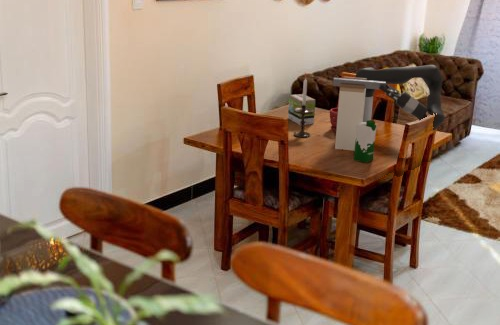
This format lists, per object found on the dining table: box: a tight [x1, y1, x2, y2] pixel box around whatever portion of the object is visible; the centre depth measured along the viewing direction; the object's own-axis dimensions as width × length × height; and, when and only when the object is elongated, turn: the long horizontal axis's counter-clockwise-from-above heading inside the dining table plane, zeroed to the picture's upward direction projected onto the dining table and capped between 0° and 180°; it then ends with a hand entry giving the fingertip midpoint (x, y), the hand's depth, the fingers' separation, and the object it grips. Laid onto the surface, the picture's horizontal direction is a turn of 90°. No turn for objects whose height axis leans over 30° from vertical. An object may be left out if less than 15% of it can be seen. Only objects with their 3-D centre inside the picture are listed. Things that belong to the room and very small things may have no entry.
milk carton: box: [353, 119, 378, 164], centre depth 332 cm, size 9×9×20 cm
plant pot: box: [329, 107, 338, 132], centre depth 383 cm, size 13×13×12 cm
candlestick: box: [293, 72, 314, 139], centre depth 366 cm, size 11×11×35 cm
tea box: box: [287, 93, 316, 126], centre depth 398 cm, size 15×10×15 cm
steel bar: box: [332, 77, 386, 91], centre depth 343 cm, size 26×4×4 cm, turn 78°
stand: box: [334, 76, 367, 151], centre depth 355 cm, size 12×24×34 cm, turn 168°
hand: (380, 84), depth 341 cm, fingers open, 8 cm apart
